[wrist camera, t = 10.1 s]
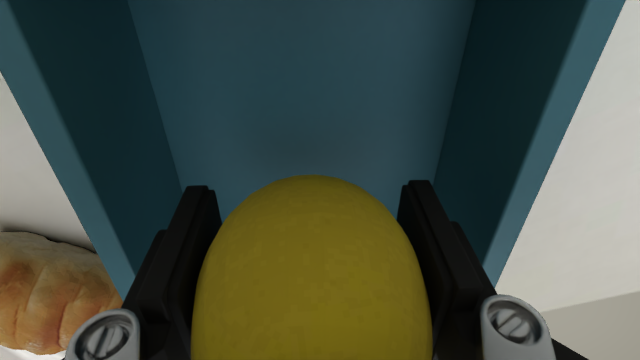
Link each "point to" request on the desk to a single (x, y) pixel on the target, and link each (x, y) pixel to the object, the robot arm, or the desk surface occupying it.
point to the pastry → (49, 292)
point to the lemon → (311, 279)
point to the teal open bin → (299, 103)
